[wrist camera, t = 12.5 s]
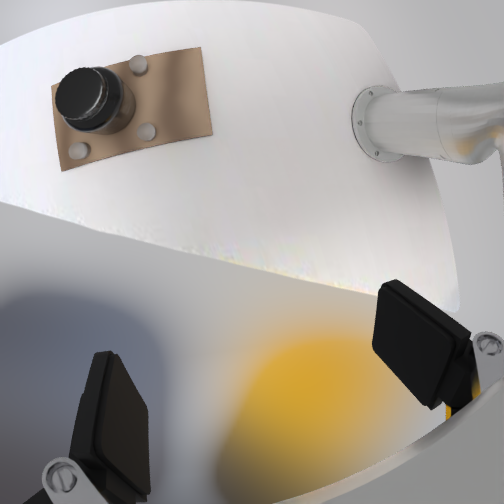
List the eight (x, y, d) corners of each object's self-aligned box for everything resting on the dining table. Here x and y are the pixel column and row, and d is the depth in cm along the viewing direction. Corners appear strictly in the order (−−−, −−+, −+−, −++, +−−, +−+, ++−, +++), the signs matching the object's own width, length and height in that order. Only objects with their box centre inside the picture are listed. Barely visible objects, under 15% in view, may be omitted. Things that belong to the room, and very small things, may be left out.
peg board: (199, 50, 30) (202, 38, 26) (211, 135, 34) (215, 132, 30) (55, 87, 26) (42, 81, 22) (65, 170, 31) (52, 173, 27)
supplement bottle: (105, 74, 27) (75, 44, 16) (147, 98, 29) (132, 74, 18) (75, 121, 28) (32, 111, 17) (116, 145, 30) (86, 144, 19)
